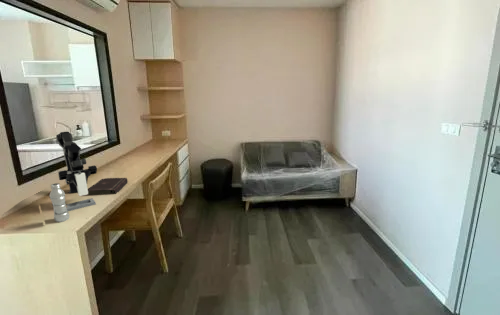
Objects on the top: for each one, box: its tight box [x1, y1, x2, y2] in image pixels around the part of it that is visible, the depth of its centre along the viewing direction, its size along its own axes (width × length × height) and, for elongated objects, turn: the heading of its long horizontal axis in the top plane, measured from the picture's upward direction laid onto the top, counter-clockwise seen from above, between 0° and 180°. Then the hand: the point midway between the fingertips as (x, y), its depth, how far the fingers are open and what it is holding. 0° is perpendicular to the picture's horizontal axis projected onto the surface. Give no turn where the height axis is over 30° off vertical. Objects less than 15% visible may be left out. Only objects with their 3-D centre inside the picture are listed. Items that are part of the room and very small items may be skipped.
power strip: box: [65, 198, 97, 212], centre depth 156 cm, size 16×8×3 cm, turn 131°
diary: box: [87, 177, 129, 196], centre depth 185 cm, size 19×25×5 cm
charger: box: [75, 171, 89, 197], centre depth 155 cm, size 4×4×14 cm
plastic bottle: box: [49, 182, 70, 223], centre depth 138 cm, size 6×7×20 cm
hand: (81, 184), depth 154 cm, fingers closed on charger, 4 cm apart
